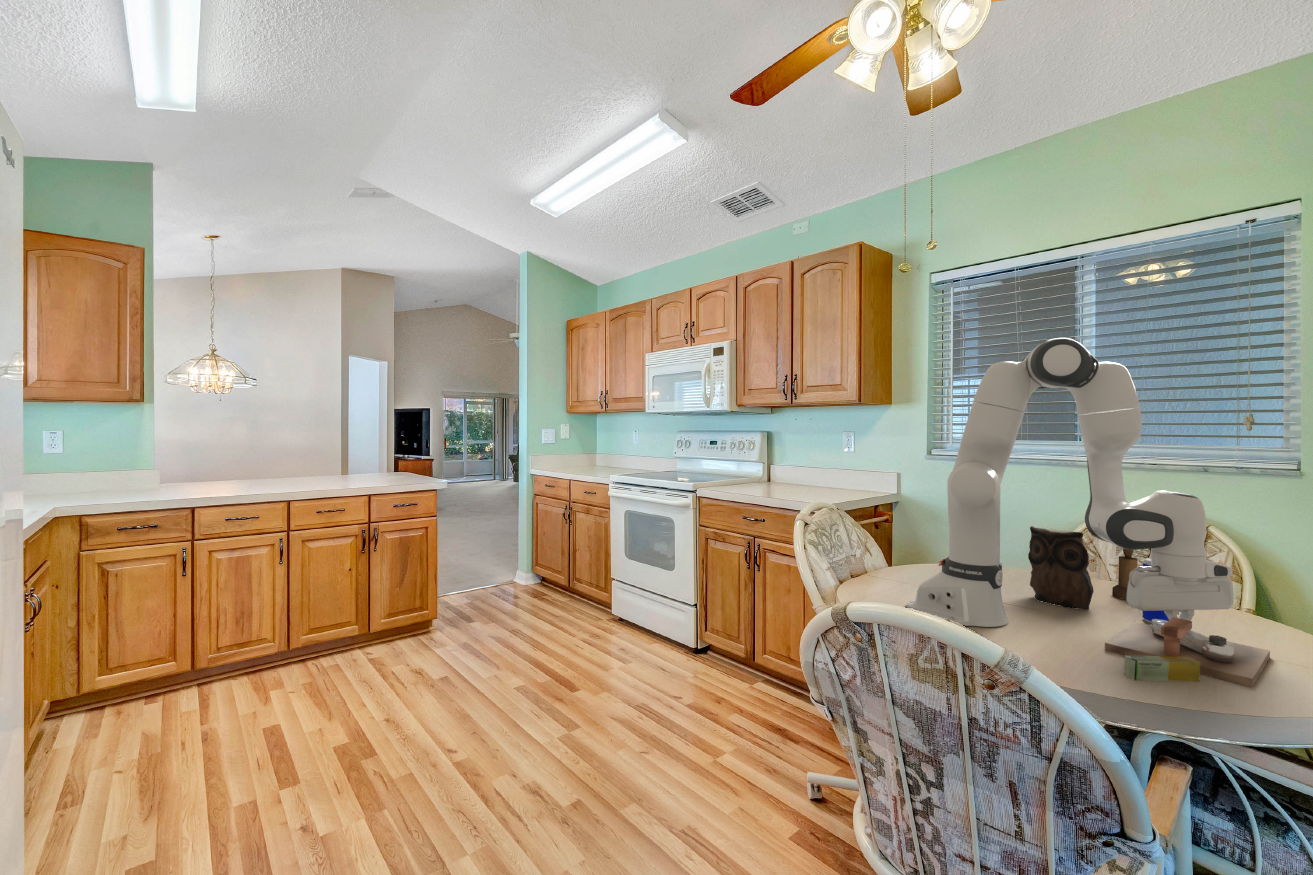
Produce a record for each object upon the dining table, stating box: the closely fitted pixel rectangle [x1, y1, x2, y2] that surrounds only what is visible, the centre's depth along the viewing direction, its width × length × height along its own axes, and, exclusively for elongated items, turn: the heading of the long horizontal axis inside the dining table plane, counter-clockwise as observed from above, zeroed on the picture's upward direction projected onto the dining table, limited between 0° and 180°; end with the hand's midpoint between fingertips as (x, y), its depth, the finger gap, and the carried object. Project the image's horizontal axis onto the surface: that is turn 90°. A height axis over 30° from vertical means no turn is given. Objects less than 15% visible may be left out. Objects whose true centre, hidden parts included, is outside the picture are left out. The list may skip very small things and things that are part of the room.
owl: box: [1027, 525, 1094, 611], centre depth 151 cm, size 13×13×20 cm
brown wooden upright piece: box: [1111, 548, 1138, 601], centre depth 154 cm, size 7×6×18 cm
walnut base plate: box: [1104, 617, 1271, 688], centre depth 116 cm, size 22×22×7 cm
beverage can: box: [1141, 557, 1169, 624], centre depth 135 cm, size 5×5×15 cm
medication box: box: [1123, 655, 1201, 682], centre depth 105 cm, size 12×3×4 cm, turn 88°
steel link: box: [1151, 619, 1234, 661], centre depth 116 cm, size 17×4×2 cm, turn 177°
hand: (1179, 629), depth 121 cm, fingers closed
